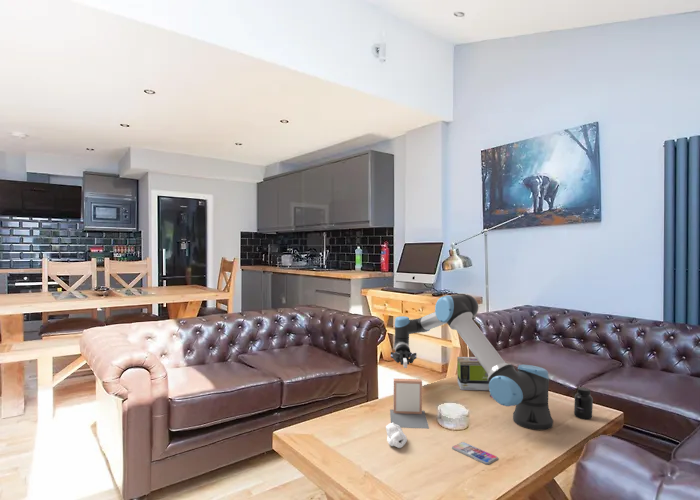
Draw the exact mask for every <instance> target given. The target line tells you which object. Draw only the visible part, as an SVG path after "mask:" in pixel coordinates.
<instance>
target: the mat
mask: <svg viewBox="0 0 700 500" xmlns="http://www.w3.org/2000/svg"><path fill="white" fill-rule="evenodd" d="M425 411H426V410H422V414H406V413H394V411H393V409H390V408H389V415H390V416H389V417H390V423H392V422H393V423H394V424H396V425H399V426H400V427H401V429H403V428H404V429H405V428H406V429H426V430H427V429H430V427H429V423H428V419H427V415H426V412H425Z"/></svg>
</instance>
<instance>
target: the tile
mask: <svg viewBox="0 0 700 500" xmlns="http://www.w3.org/2000/svg"><path fill="white" fill-rule="evenodd" d="M392 407H393V409H392V410H393V411H394V413H406V414H422V411H423V380H422V378H419V379H417V378H393V406H392Z"/></svg>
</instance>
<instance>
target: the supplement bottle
mask: <svg viewBox="0 0 700 500" xmlns="http://www.w3.org/2000/svg"><path fill="white" fill-rule="evenodd" d="M593 402H594V399H593V397H592V396H591V389H590V388H587V387H583V386H578V387H577V391H576V393H575V395H574V404H573V405H574V408H573V414H574V416H575V417H576V418H578V419H581V420H585V421H586V420H591V419H592V418H593V408H594V407H593V406H594V405H593V404H594V403H593Z"/></svg>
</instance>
